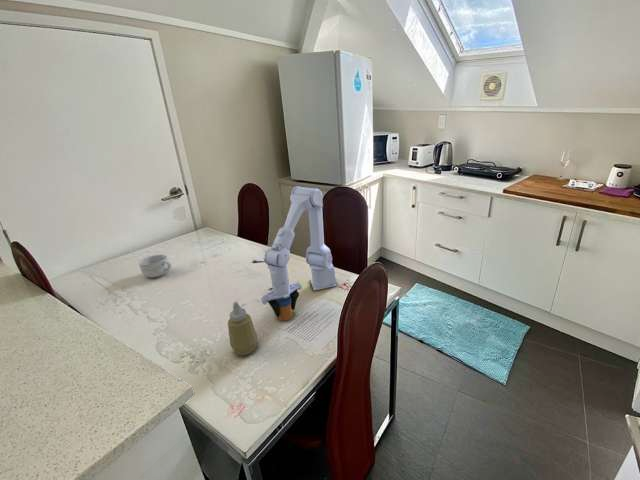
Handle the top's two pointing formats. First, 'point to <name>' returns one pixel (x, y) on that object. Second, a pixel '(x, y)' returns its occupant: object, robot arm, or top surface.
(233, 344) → the squeeze bottle
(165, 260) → the teacup
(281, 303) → the lid
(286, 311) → the jar
